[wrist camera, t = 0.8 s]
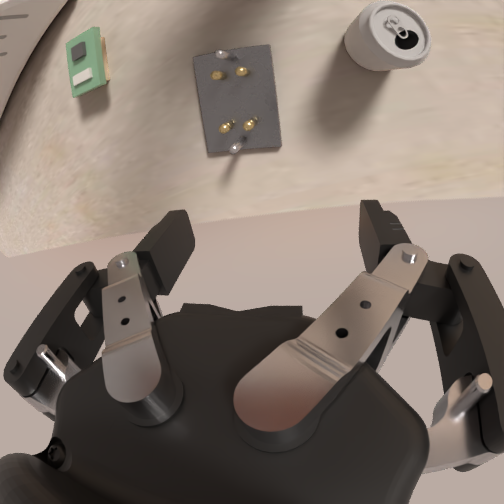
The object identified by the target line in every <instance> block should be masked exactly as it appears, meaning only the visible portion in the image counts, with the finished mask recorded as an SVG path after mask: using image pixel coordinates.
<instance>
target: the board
mask: <svg viewBox="0 0 504 504" xmlns="http://www.w3.org/2000/svg"><path fill="white" fill-rule="evenodd" d="M66 51H67V61H68V69H69V76H70V83H71V89H72V95H73V98H75V97H79V96H81V95H83V94H85V93H87V92H89V91H92V90H94V89H96V88H98V87H100V86H103V85H105V84H107V83H106V76H105V70H104V63H103V56H102V48H101V39H100V28H99V27H92V28H90V29H88V30H87V31H85V32H83V33H82V34H80V35H79V36H77V37H75V38H74V39H72V40H71V41H69V42H68V43H66Z"/></svg>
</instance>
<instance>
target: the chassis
mask: <svg viewBox="0 0 504 504" xmlns="http://www.w3.org/2000/svg"><path fill="white" fill-rule="evenodd" d="M193 62H194V68H195V75H196V81H197V87H198V94H199V100H200V106H201V112H202V118H203V124H204V130H205V135H206V141H207V147H208V152H209V153H212V152H221V151H229V152H230V153H231V154H236V153H237V152H238V151H239V150H240V149H252V148H265V147H281V146H282V140H281V130H280V121H279V111H278V102H277V94H276V85H275V77H274V69H273V61H272V54H271V47H270V45H260V46H252V47H245V48H238V49H232V50H226V51H222V50H216V51H215V53H210V54H206V55H201V56H197V57H193Z"/></svg>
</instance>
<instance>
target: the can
mask: <svg viewBox="0 0 504 504" xmlns="http://www.w3.org/2000/svg"><path fill="white" fill-rule="evenodd" d="M344 43H345V46H346V50H347V52H348V53H349V55H350V57H351V58H352V59H353V60H354V61H355V62H356V63H357V64H358V65H360V66H362V67H364V68H366V69H368V70H372V71H387V70H395V69H403V68H411V67H414V66H417V65H420V64H421V63H422V62H423V61H424V60H425V59H426V58H427V56H428V54H429V52H430V47H431V35H430V31H429V28H428V26H427V24H426V23H425V21H424V19H423V18H422V17H421V16H420V15H419V14H418V13H417V12H416V11H414V10H413V9H411V8H409V7H408V6H406V5H403V4H400V3H397V2H394V1H384V0H380V1H377V2H373V3H371V4H369V5H368V6H367V7H366V8H364V9H363V10H362V12H361V13H360V14H359V15H358V16H357V17H356V19H355V20H354V21H353V22H352V23H351V25H350V26H349V27H348V29H347V31H346V33H345V39H344Z"/></svg>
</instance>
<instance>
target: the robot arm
mask: <svg viewBox="0 0 504 504" xmlns="http://www.w3.org/2000/svg"><path fill="white" fill-rule="evenodd" d="M359 244H360V248H361V252H362V256H363V259H364V264H365V268H366V271H363V272H361V273H360V274H359V275H358V276H357V277H356V279H355V280H354V281H353V282H352V283H351V284H350V285H349V286H348V288H346V289H345V291H344V292H343V293H342V294H341V295H340V296H339V297H338V298H337V299H336V300H335V301H334V302H333V303H332V304H331V305H330V306H329V307H328V308H327V309H326V310H325V311H324V312H323V313H322V314H321V315H320V316H319V318H317V319H315V318H312V317H308V316H304V315H303V313H302V306H267V307H262V308H256V309H250V310H244V311H233V310H230V309H226V308H222V307H218V306H214V305H210V304H188V303H184V304H183V306H182V308H181V310H180V312H176V313H172V314H169V315H166V316H163V315H162V312H161V309H160V306H159V303H158V301H157V300H156V296H157V295H169V293H170V291H171V290H172V288H173V286H174V284H175V282H176V281H177V279H178V277H179V275H180V273H181V272H182V270H183V268H184V266H185V264H186V263H187V261H188V259H189V257H190V256H191V254H192V252H193V251H194V248H195V238H194V234H193V231H192V227H191V224H190V220H189V217H188V214H187V212H186V210H174V211H169V212H168V213H167V214H166V216H165V217H164V218H163V219H162V220H161V221H160V222H159V223H158V224H157V225H155V226H154V227H153V228H152V229H151V230H150V231H149V232H148V234H147V235H146V236H145V237H144V239H142V241H141V242H140V243H139V244H138V245H137V247H136V248H135V249H134V250H133V251H132V252H131V251H129V252H124V253H121V254H119V255H117V256H115V257H114V258H113V259H112V260H111V261H110V262H109V263H108V266H107V268H106V269H102V270H98V271H97V269H96V267H95V266H94V264H93V263H92V262H85V263H82V264H80V265H78V266H77V267H76V268H74V269H73V270H72V271H71V273H70V274H69V275H68V276H67V278H66V279H65V280H64V281H63V283H62V284H61V285H60V286H59V288H58V289H57V290H56V291H55V293H54V294H53V295H52V297H51V298H50V299H49V301H48V302H47V303H46V305H45V306H44V307H43V309H42V310H41V312H40V313H39V315H38V316H37V317H36V319H35V320H34V321H33V323H32V324H31V326H30V327H29V329H28V330H27V332H26V334H25V335H24V336H23V338H22V340H21V341H20V343H19V344H18V346H17V347H16V349H15V351H14V352H13V354H12V356H11V357H10V359H9V361H8V362H7V364H6V367H5V369H4V379H5V381H6V382H7V383H8V384H9V385H10V386H11V387H12V388H13V389H14V390H16V391H17V392H18V393H19V395H20V396H21V397H22V398H23V399H25V400H26V401H27V402H28V403H29V404H31V405H32V406H33V407H34V408H36V409H37V410H38V411H40V412H42V413H43V414H44V415H46V416H47V417H49V418H50V419H51V420H53V421H55V423H54V429H53V433H52V438H51V441H50V443H49V445H48V447H47V448H46V449H45V450H44V451H42V452H41V453H38V454H35V455H29V454H24V453H13V454H8V455H6V456H4V457H2V458H1V459H0V504H408V503H409V500H410V498H411V495H412V493H413V490H414V488H415V486H416V484H417V482H418V480H419V478H420V476H421V474H425V473H430V472H435V471H440V470H444V469H448V468H454V469H455V470H457V471H460V472H466V471H469V470H472V469H474V468H476V467H478V466H480V465H482V464H484V463H486V462H488V461H489V460H491V459H493V458H495V457H497V456H498V455H500V454H502V453H504V308H503V306H502V304H501V302H500V300H499V298H498V296H497V294H496V292H495V290H494V288H493V286H492V284H491V283H490V280H489V279H488V277H487V275H486V273H485V271H484V270H483V268H482V266H481V265H480V263H479V262H478V261H477V260H476V259H474V258H473V257H471V256H469V255H465V254H455V255H453V256H451V257H450V260H449V263H448V265H447V264H442V263H437V262H433V261H430V260H428V255H427V253H426V252H425V251H424V250H423V249H422V248H420V247H419V246H417V245H414V244H412V243H411V241H410V239H409V237H408V235H407V233H406V232H405V230H404V228H403V226H402V224H401V223H400V221H399V219H398V217H397V216H396V215H394V214H393V213H392V212H390V211H383V209H382V207H381V205H380V203H379V201H378V200H361V202H360V221H359ZM82 300H83V302H84V303H85V305H86V306H87V308H88V310H89V311H90V312H89V314H88V315H87V317H86V319H85V320H84V322H83V323H82V325H81V327H80V326H79V325H78V324H77V322H76V320H75V317H74V313H75V310H76V308H77V307H78V305H79V304H80V302H81V301H82ZM411 317H412V318H417V319H422V320H428V321H430V325H431V329H432V333H433V337H434V342H435V346H436V351H437V356H438V361H439V366H440V371H441V377H442V383H443V390H444V395H443V397H442V398H441V399H440V400H439V401H438V402H437V404H436V406H435V408H434V411H433V421H432V425H431V427H430V428H426V425H425V423H424V421H423V420H422V418H421V417H420V416H419V414H418V413H417V412H416V411H415V410H414V409H413V408H412V407H411V406H409V404H408V403H407V402H406V401H405V400H404V399H403V398H402V397H401V396H400V395H399V394H398V393H397V392H396V391H395V390H394V389H393V388H392V387H391V386H390V385H389V384H388V383H387V382H386V381H385V380H384V379H383V378H382V377H381V376H380V375H379V374H378V372H379V371H380V369H381V367H382V366H383V364H384V362H385V360H386V358H387V356H388V354H389V353H390V351H391V349H392V348H393V346H394V345H395V343H396V341H397V340H398V338H399V336H400V335H401V333H402V332H403V330H404V328H405V326H406V325H407V323H408V321H409V320H410V318H411ZM104 340H105V346H106V347H105V349H104V350H103V351H102V357H100V358H99V359H98V360H96V361H94V359H95V357H96V355H97V353H98V351H99V349H100V347H101V345H102V344H103V342H104ZM93 361H94V362H93Z"/></svg>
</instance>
